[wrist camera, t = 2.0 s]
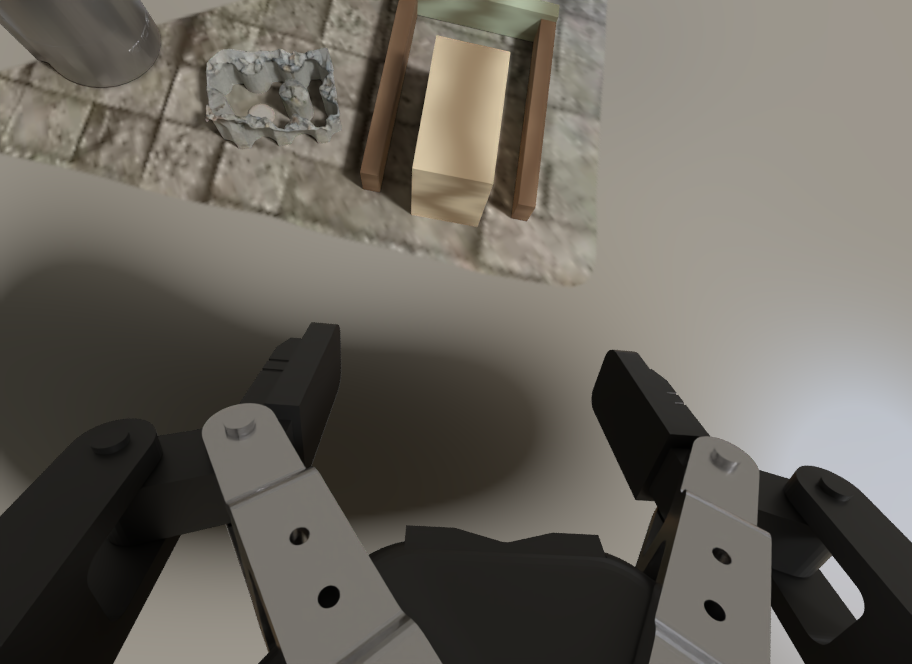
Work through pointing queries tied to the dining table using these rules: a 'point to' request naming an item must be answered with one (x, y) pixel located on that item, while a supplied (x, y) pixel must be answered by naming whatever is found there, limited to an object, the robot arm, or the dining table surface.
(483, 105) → the maple block
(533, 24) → the wooden tray frame
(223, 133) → the egg carton
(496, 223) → the dining table surface
